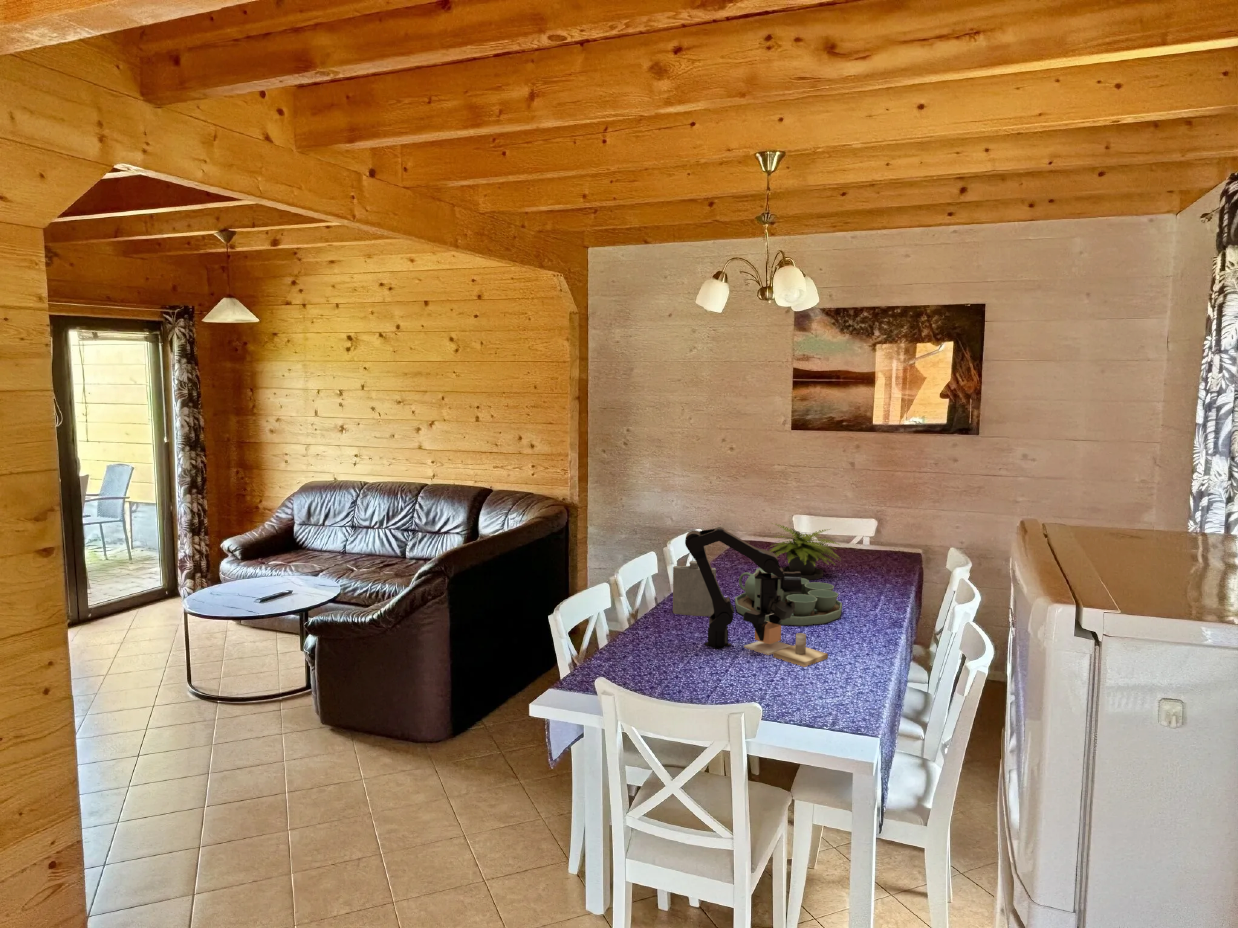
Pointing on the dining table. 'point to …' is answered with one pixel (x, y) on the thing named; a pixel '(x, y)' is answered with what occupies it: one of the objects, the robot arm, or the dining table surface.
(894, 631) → the dining table surface
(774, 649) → the pad
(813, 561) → the fern plant
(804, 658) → the post stand
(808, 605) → the tea set
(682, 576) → the hip flask
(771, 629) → the orange cube
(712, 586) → the robot arm
